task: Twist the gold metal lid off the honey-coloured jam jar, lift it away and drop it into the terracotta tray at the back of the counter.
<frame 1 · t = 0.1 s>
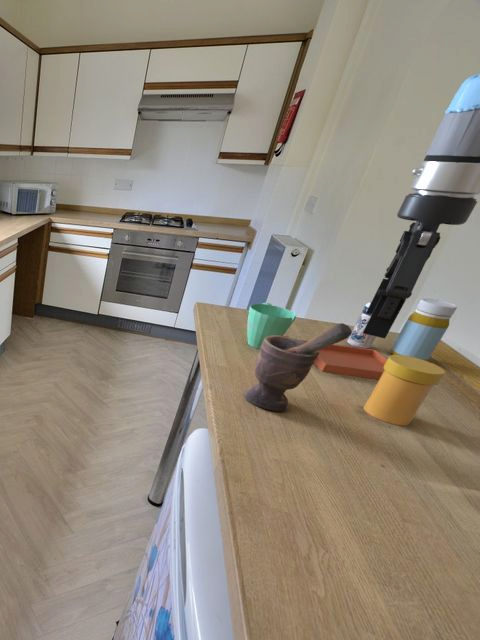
hand: (374, 324, 70), 20 cm above the countertop, tool pointing down, fingers open, 13 cm apart
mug: (257, 343, 110), on the countertop
mortar and pestle: (274, 407, 82), on the countertop
beer can: (357, 346, 111), on the countertop
jar lid: (415, 365, 76), point 11 cm above the countertop, screwed on, not yet turned
jam jar: (385, 414, 81), on the countertop
tray: (347, 363, 101), on the countertop
bottle: (407, 358, 106), on the countertop
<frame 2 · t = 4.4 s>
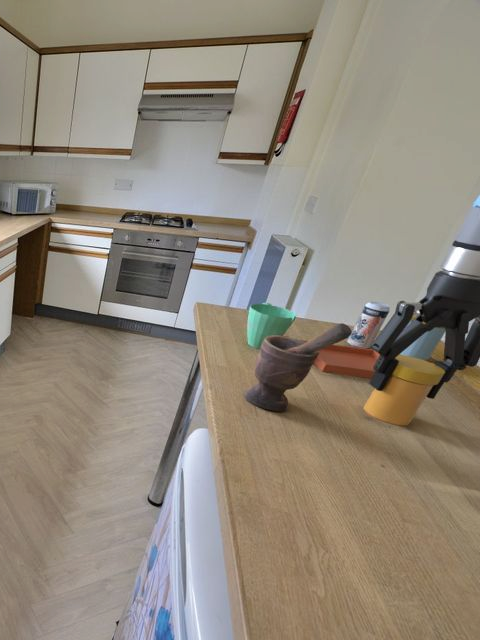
hand: (400, 390, 78), 6 cm above the countertop, tool pointing down, fingers closed on jar lid, 7 cm apart
jar lid: (415, 365, 76), point 11 cm above the countertop, screwed on, not yet turned, touching gripper
everything else where it was.
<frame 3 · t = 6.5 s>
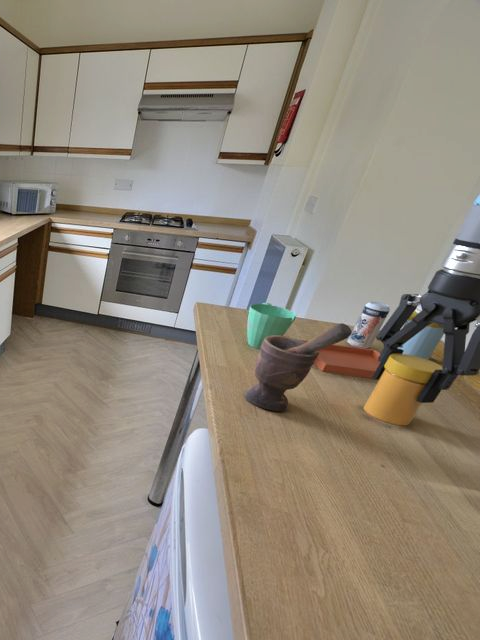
hand: (401, 389, 78), 6 cm above the countertop, tool pointing down, fingers closed on jar lid, 7 cm apart
jar lid: (416, 364, 76), point 11 cm above the countertop, off its thread, touching gripper
everything else where it was.
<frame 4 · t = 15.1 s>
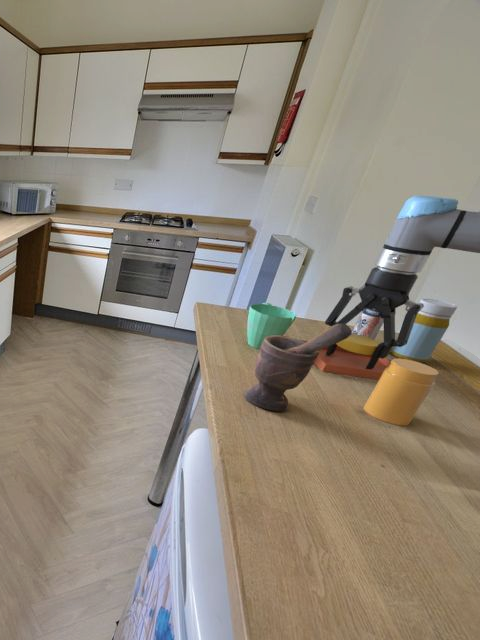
hand: (348, 360, 100), 1 cm above the countertop, tool pointing down, fingers closed on jar lid, 7 cm apart
jar lid: (359, 340, 98), point 6 cm above the countertop, off its thread, touching gripper
everything else where it was.
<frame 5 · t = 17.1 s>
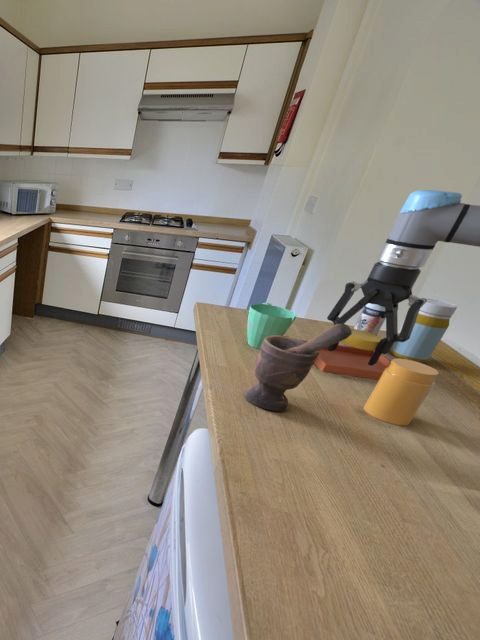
hand: (351, 356, 100), 2 cm above the countertop, tool pointing down, fingers closed on jar lid, 7 cm apart
jar lid: (361, 336, 97), point 7 cm above the countertop, off its thread, touching gripper
everything else where it was.
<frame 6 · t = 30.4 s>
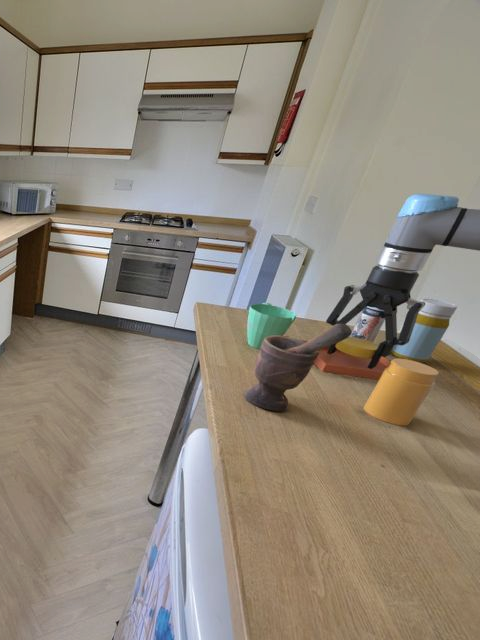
hand: (350, 359, 100), 1 cm above the countertop, tool pointing down, fingers closed on jar lid, 7 cm apart
jar lid: (358, 344, 98), point 5 cm above the countertop, off its thread, touching gripper
everything else where it was.
when the fingers open (4 cm above the countertop, at t = 31.3 s): jar lid drops 6 cm, resting on tray.
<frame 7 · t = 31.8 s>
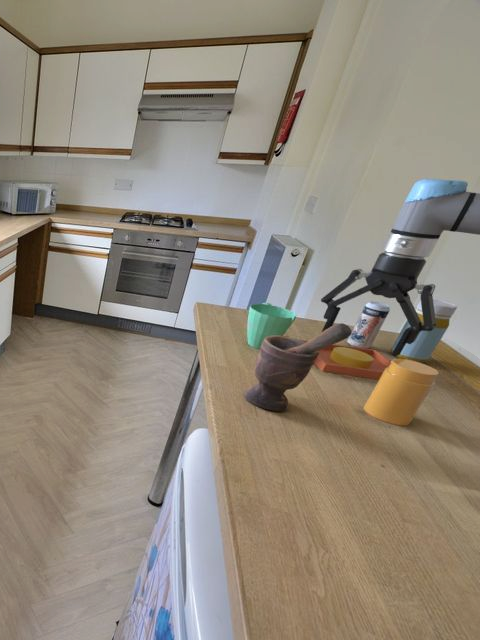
hand: (358, 342, 98), 6 cm above the countertop, tool pointing down, fingers open, 13 cm apart
jar lid: (352, 355, 99), point 2 cm above the countertop, off its thread, touching tray
everything else where it was.
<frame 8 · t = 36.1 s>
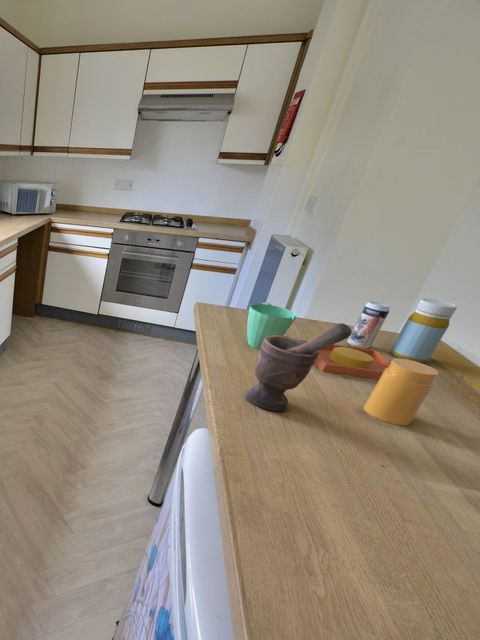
nothing on the countertop moved.
at the end: jar lid came off its thread; jar lid inside the target area on the tray (0.0 cm from its centre), point 2.4 cm above the tray's base; the gripper is holding nothing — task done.
